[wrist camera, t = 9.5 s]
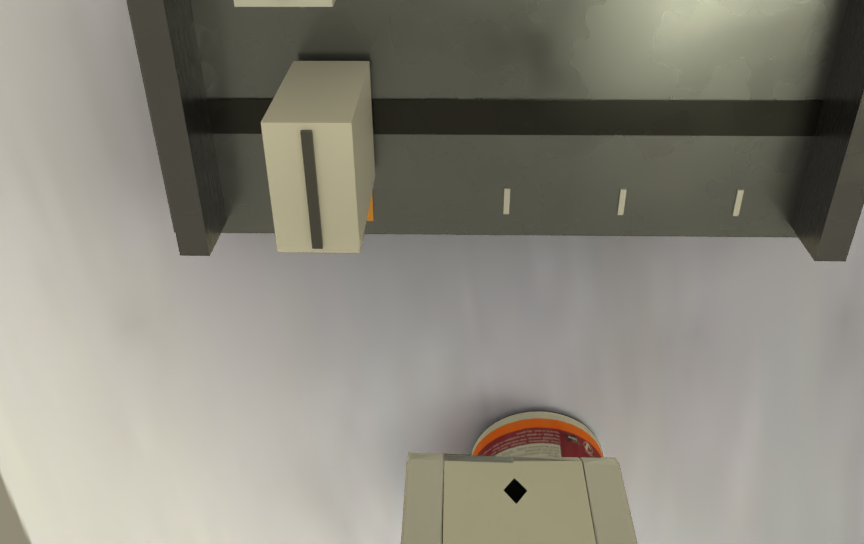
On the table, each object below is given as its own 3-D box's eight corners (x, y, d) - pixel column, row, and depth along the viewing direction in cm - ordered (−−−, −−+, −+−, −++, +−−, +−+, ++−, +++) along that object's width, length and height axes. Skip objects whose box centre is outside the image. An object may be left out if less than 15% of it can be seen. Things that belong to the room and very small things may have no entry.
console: (971, -312, 22) (1074, -324, 18) (822, 210, 31) (871, 274, 27) (92, -303, 23) (21, -311, 19) (189, 206, 31) (153, 267, 28)
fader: (369, 61, 26) (351, 124, 21) (375, 175, 28) (359, 254, 24) (293, 60, 26) (259, 124, 21) (305, 175, 28) (276, 254, 24)
